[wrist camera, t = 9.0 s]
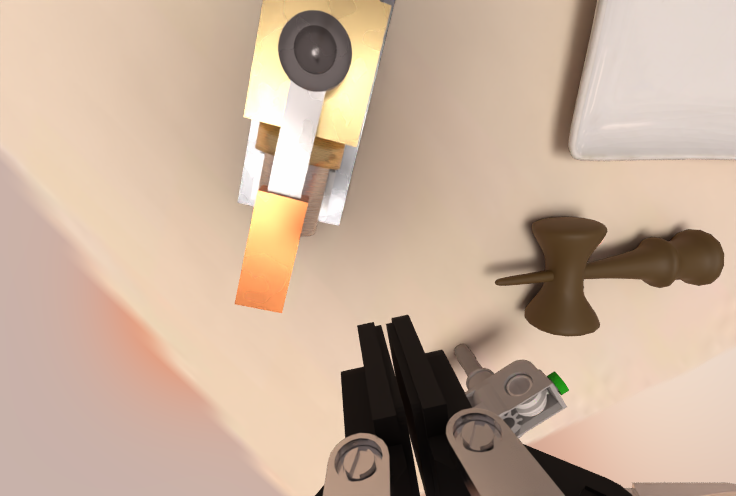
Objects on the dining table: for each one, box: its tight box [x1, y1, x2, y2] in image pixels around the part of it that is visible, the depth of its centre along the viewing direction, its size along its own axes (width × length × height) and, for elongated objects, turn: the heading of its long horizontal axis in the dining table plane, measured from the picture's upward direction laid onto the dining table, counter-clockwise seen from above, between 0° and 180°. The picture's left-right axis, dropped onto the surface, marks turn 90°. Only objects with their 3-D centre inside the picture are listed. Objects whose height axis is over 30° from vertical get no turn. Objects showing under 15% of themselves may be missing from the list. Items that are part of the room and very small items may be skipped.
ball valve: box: [238, 0, 395, 237], centre depth 23 cm, size 20×8×11 cm, turn 165°
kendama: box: [495, 217, 724, 336], centre depth 33 cm, size 6×10×20 cm
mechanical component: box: [454, 344, 569, 438], centre depth 33 cm, size 3×10×10 cm, turn 124°
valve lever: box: [235, 10, 352, 313], centre depth 18 cm, size 14×3×2 cm, turn 164°
